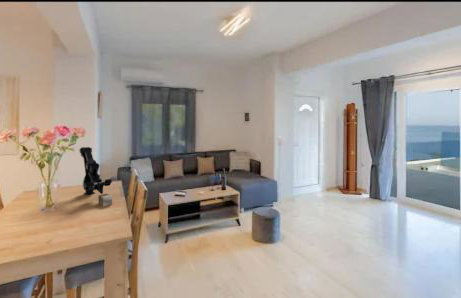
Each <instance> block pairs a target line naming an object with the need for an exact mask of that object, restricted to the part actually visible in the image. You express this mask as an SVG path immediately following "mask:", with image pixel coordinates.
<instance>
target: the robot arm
mask: <svg viewBox="0 0 461 298" xmlns="http://www.w3.org/2000/svg"><path fill="white" fill-rule="evenodd" d="M78 151H79V154H80V156H81V157H82V158H83V159H82V160H83V164H84V165H83V166H84V174H85V175H84V178H83V181H82V188H83V190H84V191H85V192H83V194H85V195H87V196H88V195H93V194H95V193H96V192H95V191H97V192H98V193H99V194H100V195H103V193H104V187H109V186H111V184H112V182H113V180H112V179H111V178H108V179H105V180H102V179H101V175H100V174H99V170H100V164H99V163H97V161H96V160H94V156H93V147H90V146H86V147H85V146H82V147H80V148H79V149H78Z"/></svg>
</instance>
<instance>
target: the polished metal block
mask: <svg viewBox="0 0 461 298" xmlns="http://www.w3.org/2000/svg"><path fill="white" fill-rule="evenodd" d="M97 197H98V198H97V200H98V204H99V205H101V206H103V207H105V206H106V207H107V206H110V205H112V204H113V195H111V194H109V193H105V194H98V195H97Z"/></svg>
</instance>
